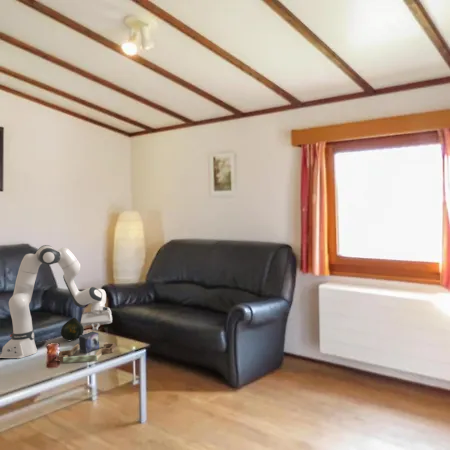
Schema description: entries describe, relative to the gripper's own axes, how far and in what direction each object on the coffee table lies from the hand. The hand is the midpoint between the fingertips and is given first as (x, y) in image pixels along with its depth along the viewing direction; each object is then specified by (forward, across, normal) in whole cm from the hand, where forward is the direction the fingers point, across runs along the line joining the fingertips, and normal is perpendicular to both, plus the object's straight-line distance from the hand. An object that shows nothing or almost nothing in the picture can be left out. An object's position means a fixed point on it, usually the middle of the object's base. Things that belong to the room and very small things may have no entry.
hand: (95, 330), depth 296 cm
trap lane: (+20, 0, -8) cm, 22 cm away
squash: (-4, -20, +16) cm, 26 cm away
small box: (+16, 0, -3) cm, 17 cm away
